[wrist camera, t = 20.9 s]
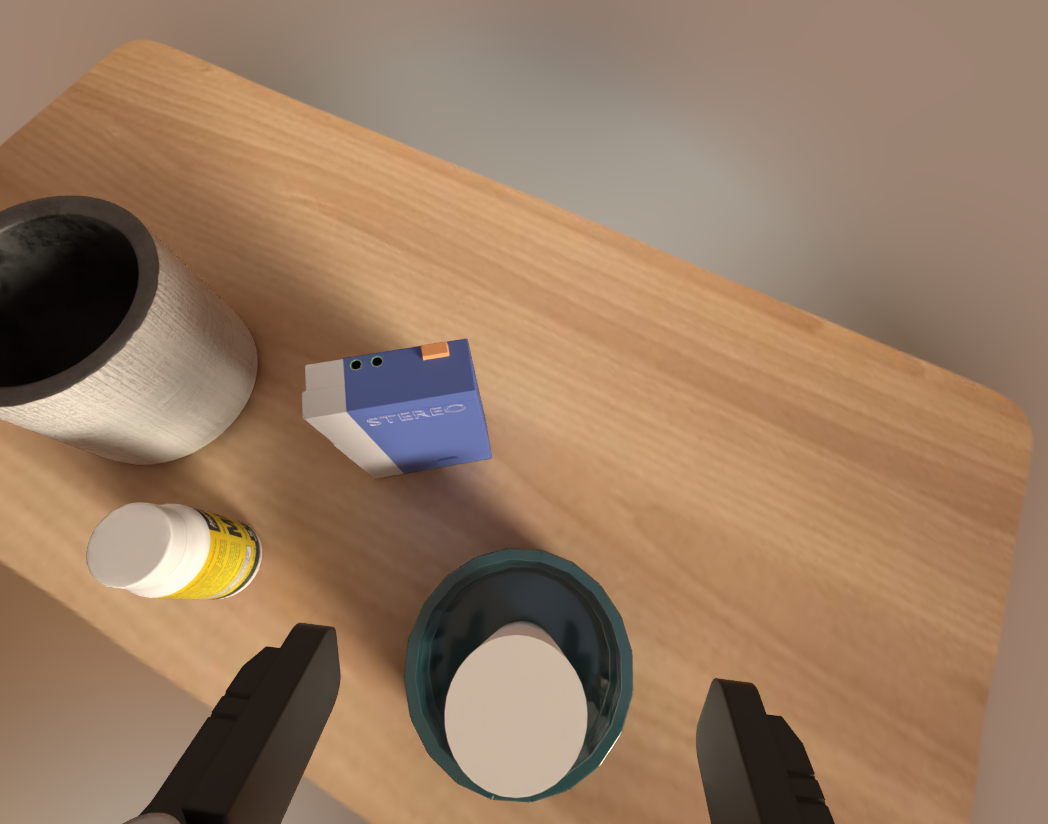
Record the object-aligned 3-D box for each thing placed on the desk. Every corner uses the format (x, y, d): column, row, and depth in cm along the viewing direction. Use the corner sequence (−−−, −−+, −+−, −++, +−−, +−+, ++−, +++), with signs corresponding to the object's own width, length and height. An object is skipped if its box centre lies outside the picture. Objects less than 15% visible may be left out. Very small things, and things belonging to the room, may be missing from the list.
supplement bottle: (277, 532, 33) (199, 510, 25) (243, 609, 31) (148, 611, 23) (209, 511, 33) (111, 482, 25) (172, 586, 32) (55, 579, 24)
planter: (240, 472, 34) (113, 414, 24) (53, 464, 34) (-154, 403, 24) (280, 306, 39) (188, 195, 28) (114, 300, 39) (-39, 188, 28)
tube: (490, 711, 29) (455, 812, 15) (478, 628, 30) (435, 650, 16) (565, 695, 29) (602, 780, 15) (550, 614, 31) (570, 622, 16)
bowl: (640, 597, 31) (660, 596, 27) (579, 805, 28) (590, 846, 23) (469, 529, 33) (460, 517, 28) (390, 718, 29) (364, 740, 25)
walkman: (485, 419, 35) (466, 333, 24) (492, 458, 34) (475, 387, 23) (369, 439, 35) (295, 360, 24) (373, 479, 34) (296, 417, 23)
